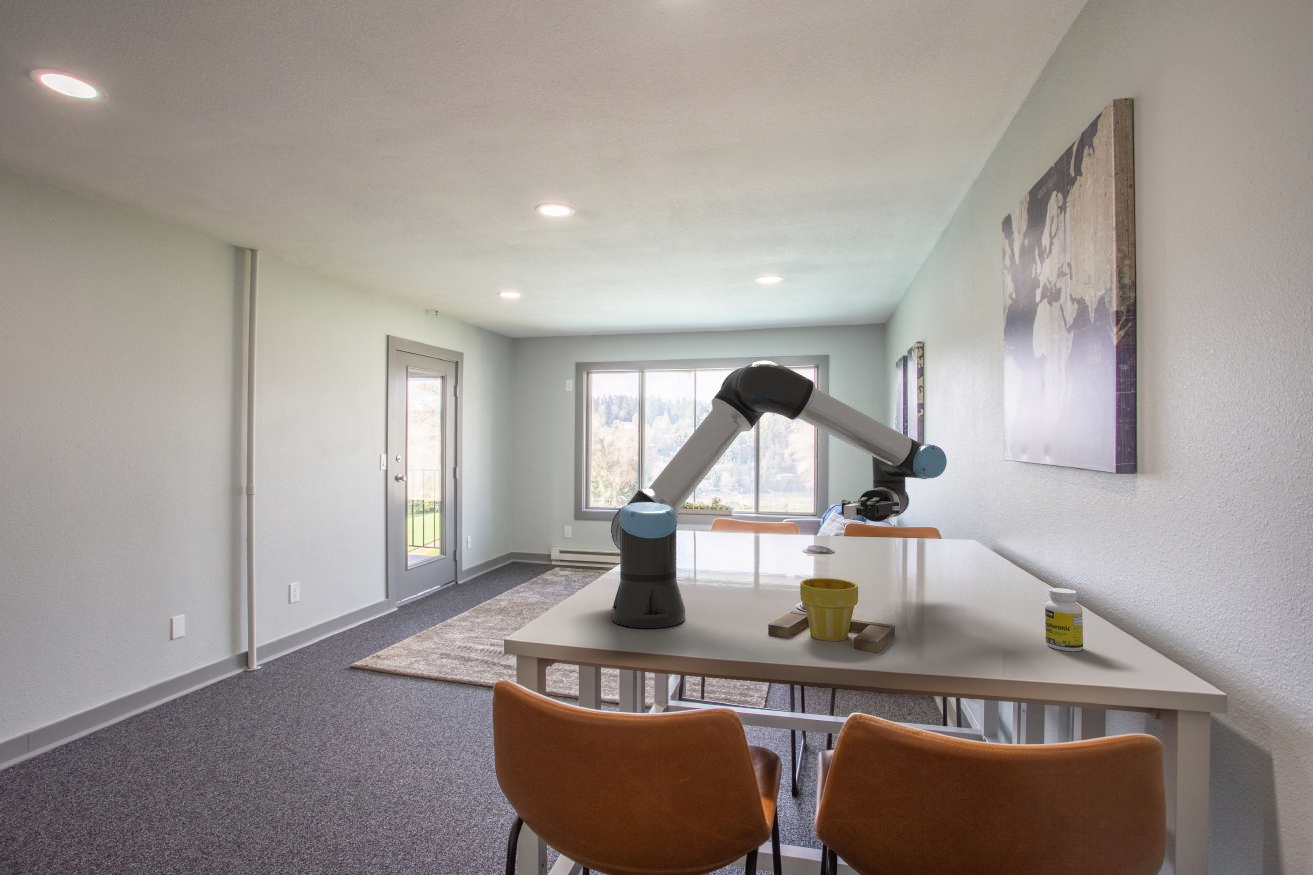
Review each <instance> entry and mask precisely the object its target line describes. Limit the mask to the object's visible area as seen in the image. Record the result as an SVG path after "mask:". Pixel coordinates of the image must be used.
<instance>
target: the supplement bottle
mask: <svg viewBox="0 0 1313 875" xmlns="http://www.w3.org/2000/svg"><path fill="white" fill-rule="evenodd" d="M1048 590H1049V595H1048V596H1049V598H1050V600H1049V601H1046V603H1045V605H1044V617H1045V621H1044V622H1045V623H1044V624H1045V644H1046V645H1047V646H1048V647H1049V648H1052V649H1055V650H1057V651H1058V650H1059V651H1063V652H1070V651H1071V652H1072V653H1074V652H1075V651H1076V652H1081V651H1083V649H1084V626H1083V625H1084V623H1083V622H1084V621H1083V608H1082V606H1081V605H1080V604H1078V603H1077V600H1078V593H1077V591H1076V590H1074V589H1069V588H1062V587H1051V588H1049V589H1048Z"/></svg>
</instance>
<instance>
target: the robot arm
mask: <svg viewBox="0 0 1313 875" xmlns="http://www.w3.org/2000/svg"><path fill="white" fill-rule="evenodd" d="M815 384H816V383H815V382H814V381H813V380H811V379H810V378H808V377H806V376H805V375H802V374H800V373H799V372H796V371H794V370H793V369H791V368H789V367H787V366H785V365H783V364H780V363H779V362H778V363H777V362H774V361H771V360H757V361H754V362H751V363H750V364H748V365H745V366H744V367H739V368H737V369H735V370H734V371H731V372H730V373H729V374H728V375H727V376H726V377H725V379H724V380H723V382H722V384H721V386H720V389H719V391H718V392H717V393H716V394H715V396H714V397H713V398H712V400H711V407H712V408H711V411H710V412H709V413H708V414H707V416H706V417H704V419H703V420H702V422H701V423H700V424H699V425H698V426H697V428H695V429H696V430H695V431H694V432H693V433H692V434H691V435H690V436H689V438H688V439H687V440H686V441H685V443H684V444H682V446H681V448H679V450H678V451H677V453H675V454H674V456H673V458H672V459H671V460H670V461H669V463H667V465H666V466H665V467H664V468H663V470H662V471H661V472H660V474H659V475H658V476H657V477H656V478H655V480H654V481H653V482H652V484H651V485H650V486H649V487H645V488H644V487H643V488H639V489H638V490H637V491H636V493H635V494H634V495H633V496H632V498H631V499H630V500H629V502H628V503H626V504H625V505H623V506H622V507H621V508H619V509H618V510H617V511H616V513H615V514H614V515H613V517H612V520H611V523H610V524H611V525H610V534H611V538H612V541H613V543H614V546H616V548H617V549H618V550H619V570H620V571H619V573H620V575H619V577H620V579H619V585H618V588H617V591H616V593H615V598H614V601H613V605H612V607H611V621H612V620H613V621H614V622H613V623H615V622H616V623H618V624H617V625H619V624H621V625H620V626H622V625H625V626H624V627H626V626H629V627H628V628H633V627H634V628H635V629H660V628H668V627H673V626H676V625H679V624H681V623H683V622H684V621H685V620H686V606H685V604H684V601H683V597H682V594H681V591H680V590H681V589H680V588H679V584H678V580H677V579H678V578H677V526H678V522H679V510H681V508H682V506H683V505H684V504H685V503H686V502H687V500H688V499H689V498H690V497H691V495H692V494H693V492H694V491H696V489H697V487H698V486H699V485H700V484H701V483H702V482H703V481H704V479H705V477H706V476H707V475H708V474H709V472H711V470H712V469H713V468H714V466H715V465H716V464H717V463H718V461H719V460H720V459H721V458H722V456H723V455H724V454H725V453H726V451H727V450H728V449H729V447H730V446H731V445H732V444H733V443H734V441H735V440H736V438H738V437H739V435H740V434H741V433H743V432H750V431H751V430H752V429H753V428H754V426H756V424H757V423H758V422H759V420H760V419H761V418H762V417H763V415H764V414H765V413H773V414H777V415H780V416H782V417H784V418H786V419H790V420H791V421H795V420H798V419H799V420H802V421H803V422H805V423H807V424H809V425H811V426H812V427H815V428H816V429H818V430H821V431H823V432H825V433H826V434H828V435H830V436H831V437H834V438H836V439H838V440H840V441H842V442H844V443H846V444H848V445H850V446H852V447H854V448H856V449H858V450H859V451H862V452H864V453H866V454H867V455H869V456H871V459H872V480H873V481H872V486H873V487H872V488H871V489H868V490H866V491H864V492H863V493H862V494H861V495H860V497H859V499H857V500H853V502H851V501H852V500H846V499H842V500H841V515H843V520H856V519H857V518H861V517H863V518H864V519H866V520H868V522H869V521H870V522H874V523H878V522H879V523H885V520H888V519H891V518H896V517H899V516H901V515H902V514H904V512H906V510H907V509H908V507H909V506H910V497H909V494H908V491H907V489H906V487H907V486H906V478H908V479H909V478H911V479H913V478H914V479H920V480H927V479H935V478H938V477H940V476H941V475H942V474H943V473H944V472H945V470H946V468H947V465H948V464H947V463H948V462H947V461H948V460H947V455H946V452H944V450H943V449H942V448H941V447H939V446H937V445H935V444H929V443H925V444H923V443H921V442H918V441H917V440H915V439H914V438H911V437H909V436H907V435H905V434H903V433H902V432H900V431H897V430H895V429H893V428H892V427H890V426H889V425H886V424H884V423H882V422H880V421H878V420H876V419H875V418H873V417H872V416H869V415H867V414H865V413H864V412H862V411H860V410H858V409H856V408H854V407H853V406H850V405H849V404H846V403H845V402H843V401H841V400H840V399H837V398H835V397H833V396H831V395H830V394H828V393H826V392H825V391H822V390H820V389H819V388H816V385H815ZM616 623H615V624H616Z"/></svg>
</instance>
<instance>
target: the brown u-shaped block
mask: <svg viewBox="0 0 1313 875" xmlns="http://www.w3.org/2000/svg"><path fill="white" fill-rule="evenodd" d="M807 626H809V623H808V618H807V614H806V612H805V611H797V610H796V611H795V610H791V611H790V612H788V613H786V614H784V615H783V616H780V617H779V618H777V619H776V620H773V621H772V622H770V623H768V624H767V630H768V631H767V633H768V635H772V636H779V637H784V638H790V637H791V636H793V635H795V634H796V633H797V632H799V631H801V630H802V629H803V630H804V628H806V627H807ZM849 632H856V633H858V634H857V635H855V637H853V649H854V650H860V651H866V652H872V653H879V652H880V651H881V650H882V649H884V647H885V646H886V645H887V644H888V643H890V641H891V640H892V639H893V638H894V637H895V636H896V625H894V624H888V623H887V624H886V623H881V622H874V621H873V622H872V621H866V620H860V619H859V620H858V619H854V618H852V619H851V623H850V628H849Z"/></svg>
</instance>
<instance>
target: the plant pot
mask: <svg viewBox="0 0 1313 875" xmlns="http://www.w3.org/2000/svg"><path fill="white" fill-rule="evenodd" d="M799 585H800V586H799V587H800V588H799V589H800V592H799V593H800V600H801V602H803V603H804V608H805V613H806V614H807V618H808V623H809V624H808V628H809V633H810V636H811V637H812V638H814V639H817V640H821V641H826V642H840V641H844V640H846V639H847V638H848V637H849V632H850V631H849V628H850V623H851V619H853V615H854V614H853V613H854V609H855V606H856V605H858V602H859V585H858V584H857V583H856V582H853V581H851V580H849V579H848V580H847V579H843V578H842V579H841V578H835V577H812V578H806V579H803V580H801V581H800V584H799Z"/></svg>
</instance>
